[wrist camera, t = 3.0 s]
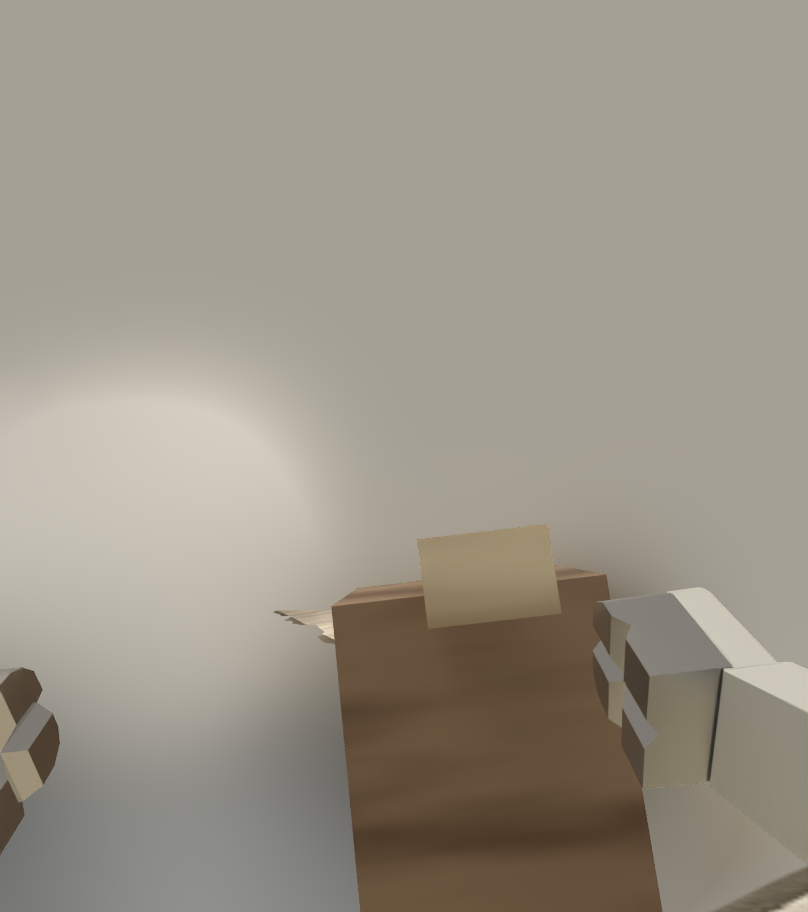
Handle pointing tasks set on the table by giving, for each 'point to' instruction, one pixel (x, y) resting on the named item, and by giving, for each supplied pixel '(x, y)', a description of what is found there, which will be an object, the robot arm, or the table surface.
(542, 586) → the slat
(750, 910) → the table surface
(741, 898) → the table surface
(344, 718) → the pedestal
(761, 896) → the table surface
